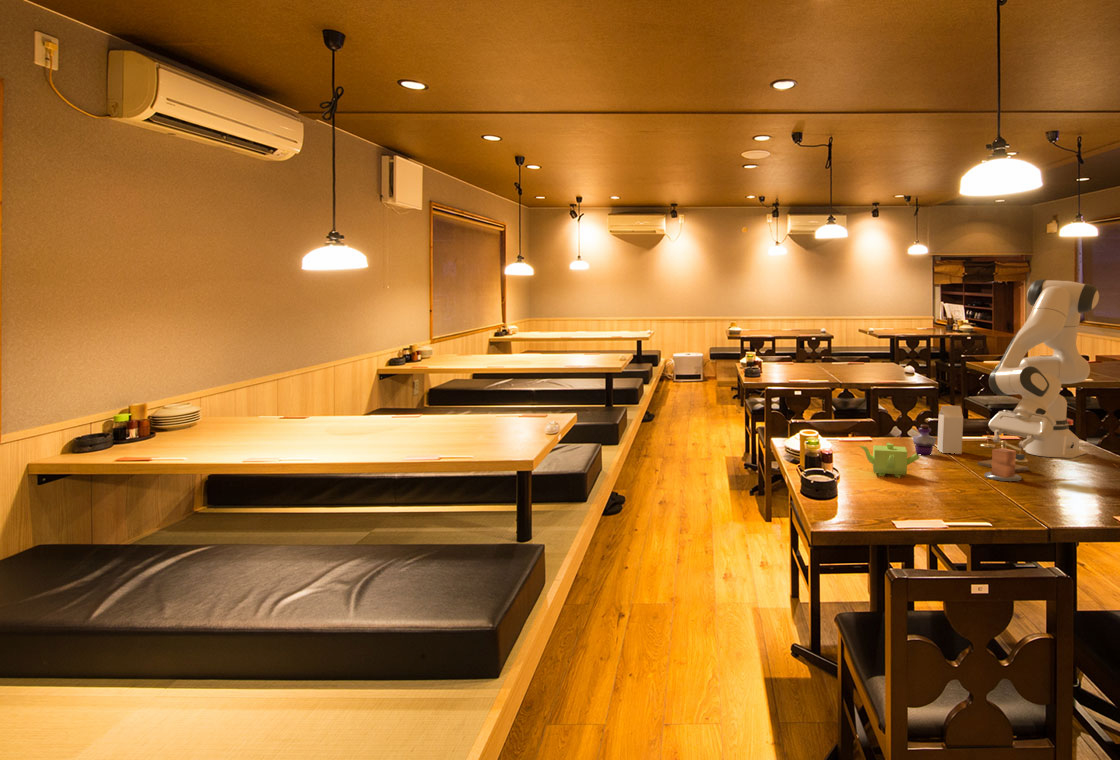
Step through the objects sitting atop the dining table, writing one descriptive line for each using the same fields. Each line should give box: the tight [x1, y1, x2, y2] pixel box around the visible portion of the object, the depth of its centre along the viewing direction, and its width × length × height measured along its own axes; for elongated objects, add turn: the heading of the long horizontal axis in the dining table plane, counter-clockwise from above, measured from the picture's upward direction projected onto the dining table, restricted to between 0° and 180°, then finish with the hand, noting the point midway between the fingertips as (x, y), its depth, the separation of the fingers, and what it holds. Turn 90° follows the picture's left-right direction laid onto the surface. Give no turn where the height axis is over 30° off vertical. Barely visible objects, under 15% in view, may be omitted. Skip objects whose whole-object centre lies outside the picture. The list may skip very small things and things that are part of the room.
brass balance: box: [977, 435, 1029, 473], centre depth 268 cm, size 8×18×11 cm, turn 23°
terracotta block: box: [990, 447, 1017, 478], centre depth 254 cm, size 5×5×9 cm
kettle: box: [858, 442, 920, 478], centre depth 261 cm, size 15×14×11 cm
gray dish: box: [984, 471, 1022, 483], centre depth 254 cm, size 11×11×1 cm
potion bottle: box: [912, 424, 937, 456], centre depth 292 cm, size 9×9×12 cm
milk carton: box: [936, 405, 964, 455], centre depth 295 cm, size 7×7×19 cm
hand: (1008, 443), depth 255 cm, fingers open, 8 cm apart
